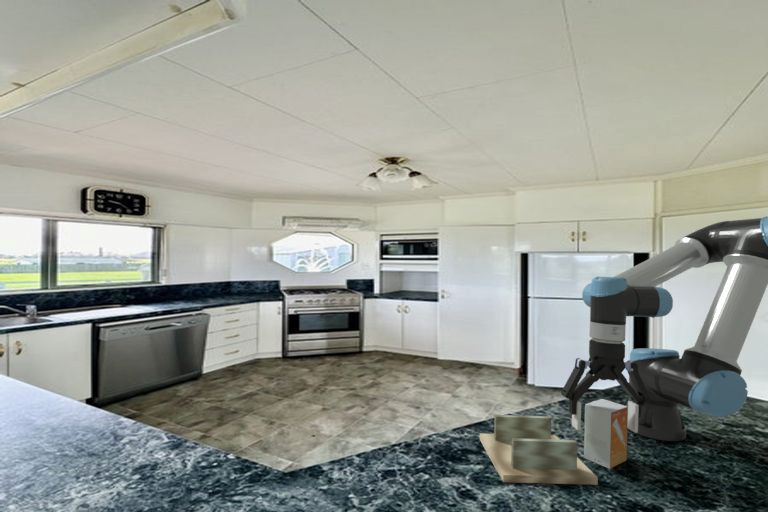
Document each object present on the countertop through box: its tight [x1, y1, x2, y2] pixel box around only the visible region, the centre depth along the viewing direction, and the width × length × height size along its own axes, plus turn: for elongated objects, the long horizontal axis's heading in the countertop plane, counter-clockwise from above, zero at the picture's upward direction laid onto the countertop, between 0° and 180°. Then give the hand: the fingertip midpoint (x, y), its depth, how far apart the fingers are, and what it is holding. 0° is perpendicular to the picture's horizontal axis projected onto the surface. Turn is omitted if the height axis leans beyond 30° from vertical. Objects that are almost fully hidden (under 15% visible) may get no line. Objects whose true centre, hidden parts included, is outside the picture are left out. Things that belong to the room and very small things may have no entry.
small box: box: [583, 398, 628, 470], centre depth 92 cm, size 8×6×13 cm
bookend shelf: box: [479, 414, 599, 486], centre depth 91 cm, size 20×20×8 cm
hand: (604, 429), depth 92 cm, fingers open, 13 cm apart
